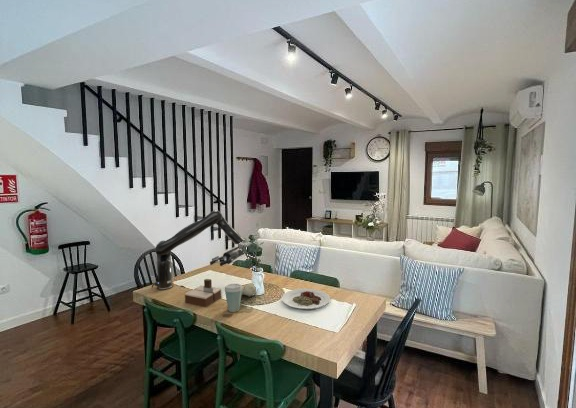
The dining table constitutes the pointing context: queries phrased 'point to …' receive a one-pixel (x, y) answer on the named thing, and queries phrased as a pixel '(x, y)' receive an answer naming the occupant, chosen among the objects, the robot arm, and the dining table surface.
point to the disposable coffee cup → (233, 296)
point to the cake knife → (208, 286)
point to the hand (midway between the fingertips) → (215, 264)
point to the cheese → (249, 290)
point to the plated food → (306, 298)
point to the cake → (202, 296)
